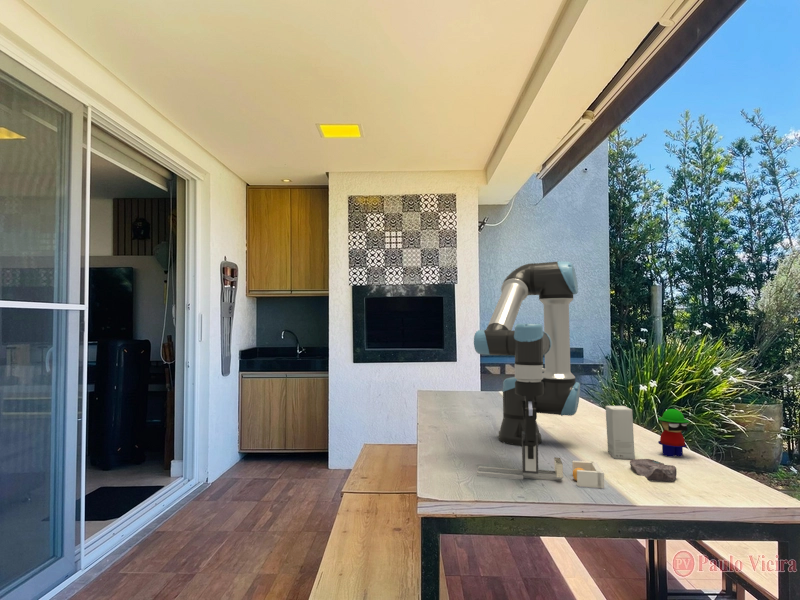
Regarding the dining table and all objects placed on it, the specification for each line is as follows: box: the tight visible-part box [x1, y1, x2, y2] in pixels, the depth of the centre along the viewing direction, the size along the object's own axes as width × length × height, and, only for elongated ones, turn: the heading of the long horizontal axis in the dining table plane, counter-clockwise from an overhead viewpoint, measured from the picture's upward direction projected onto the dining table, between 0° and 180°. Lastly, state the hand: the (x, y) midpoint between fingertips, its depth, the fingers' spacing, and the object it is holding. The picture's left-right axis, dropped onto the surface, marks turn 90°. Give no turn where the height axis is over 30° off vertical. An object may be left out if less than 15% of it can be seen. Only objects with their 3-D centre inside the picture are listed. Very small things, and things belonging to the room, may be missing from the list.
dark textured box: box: [521, 431, 564, 482], centre depth 122 cm, size 10×6×12 cm, turn 77°
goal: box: [571, 460, 605, 489], centre depth 119 cm, size 6×10×4 cm, turn 166°
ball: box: [572, 468, 584, 482], centre depth 119 cm, size 4×4×4 cm
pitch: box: [476, 466, 524, 480], centre depth 122 cm, size 34×14×2 cm, turn 77°
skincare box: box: [605, 405, 636, 460], centre depth 147 cm, size 8×7×16 cm
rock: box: [629, 458, 678, 482], centre depth 126 cm, size 8×11×5 cm
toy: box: [657, 408, 691, 458], centre depth 147 cm, size 9×9×15 cm
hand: (530, 467), depth 122 cm, fingers closed on dark textured box, 4 cm apart
